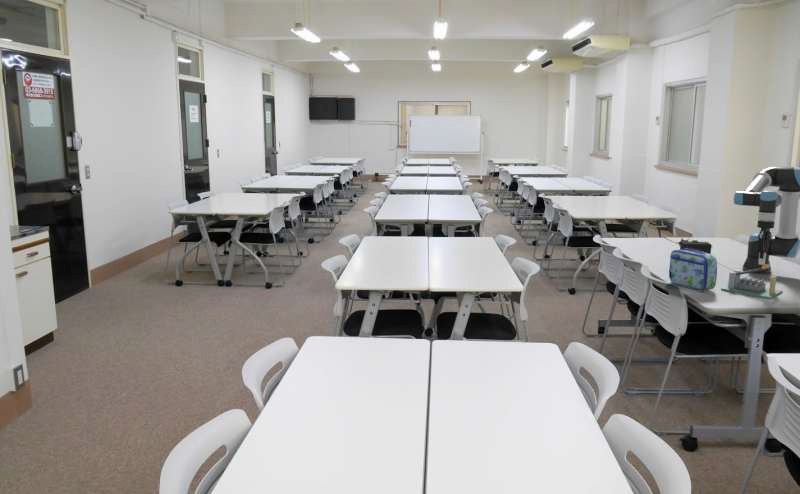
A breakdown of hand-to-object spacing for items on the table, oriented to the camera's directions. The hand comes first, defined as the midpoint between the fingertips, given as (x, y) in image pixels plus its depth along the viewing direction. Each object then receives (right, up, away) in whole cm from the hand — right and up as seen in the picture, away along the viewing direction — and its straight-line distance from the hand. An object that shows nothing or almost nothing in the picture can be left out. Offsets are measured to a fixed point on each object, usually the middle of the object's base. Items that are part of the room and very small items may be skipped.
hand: (761, 264), depth 317 cm
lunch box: (-30, -13, +16) cm, 37 cm away
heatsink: (-2, -15, +6) cm, 16 cm away
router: (-14, -7, +46) cm, 49 cm away
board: (-2, -15, +6) cm, 16 cm away
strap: (-2, -4, +4) cm, 6 cm away
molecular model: (-2, 0, +84) cm, 84 cm away
